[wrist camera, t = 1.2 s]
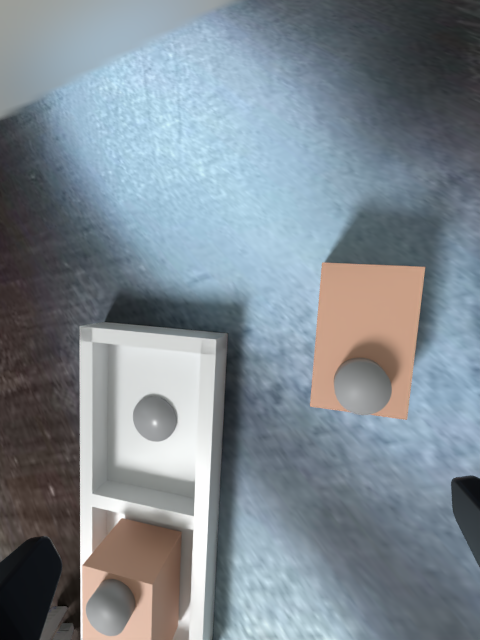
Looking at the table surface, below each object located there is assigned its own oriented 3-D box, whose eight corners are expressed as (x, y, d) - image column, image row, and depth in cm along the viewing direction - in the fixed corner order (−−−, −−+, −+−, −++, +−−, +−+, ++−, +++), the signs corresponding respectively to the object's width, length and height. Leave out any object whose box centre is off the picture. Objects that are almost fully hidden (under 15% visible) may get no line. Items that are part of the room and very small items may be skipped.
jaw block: (403, 270, 19) (432, 265, 14) (389, 392, 19) (412, 428, 15) (322, 266, 20) (322, 261, 15) (312, 383, 20) (309, 414, 16)
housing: (227, 333, 21) (216, 339, 19) (211, 650, 24) (200, 689, 22) (103, 321, 23) (79, 326, 21) (102, 616, 26) (80, 649, 23)
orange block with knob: (181, 531, 22) (143, 601, 17) (178, 625, 23) (140, 716, 18) (121, 517, 23) (69, 580, 18) (120, 607, 24) (70, 689, 19)
